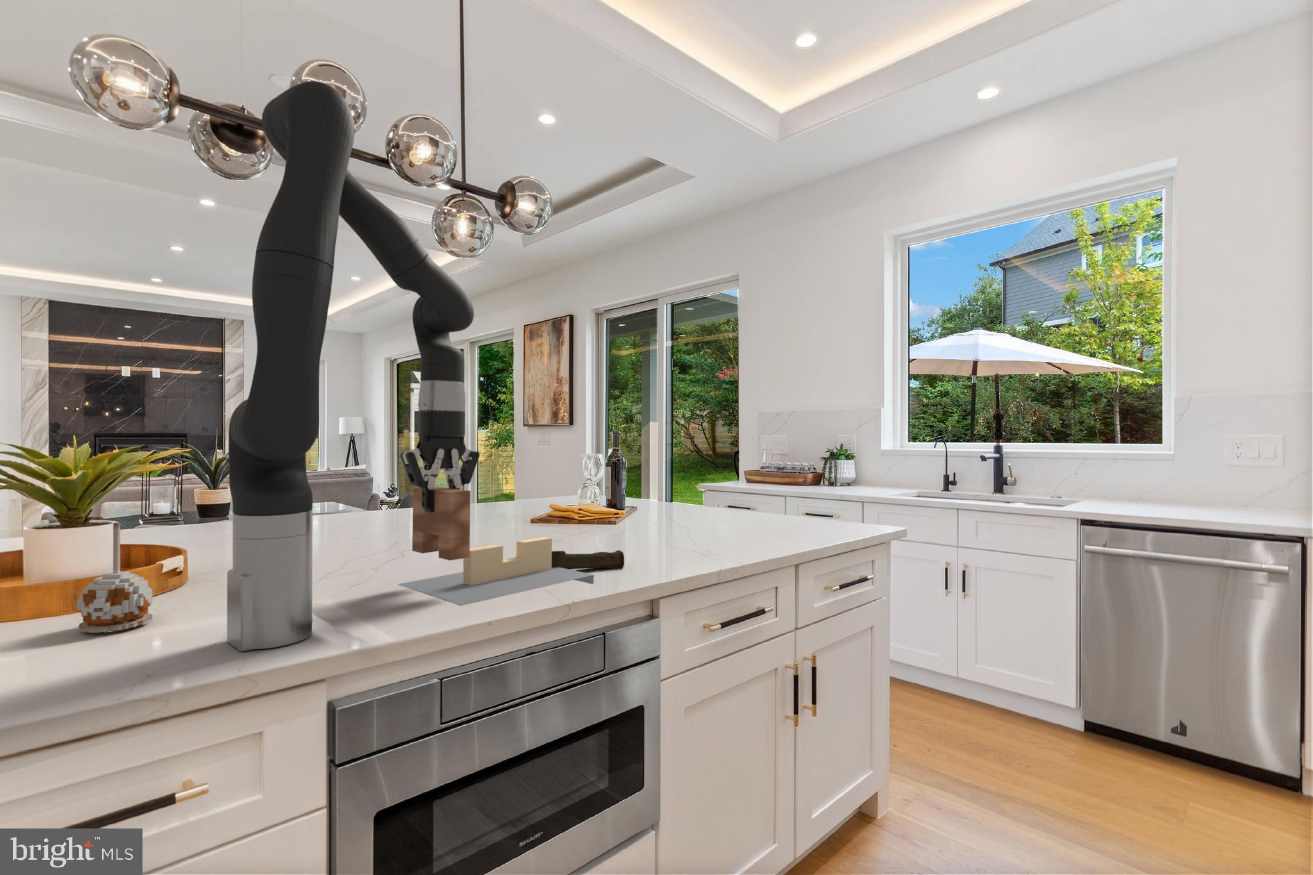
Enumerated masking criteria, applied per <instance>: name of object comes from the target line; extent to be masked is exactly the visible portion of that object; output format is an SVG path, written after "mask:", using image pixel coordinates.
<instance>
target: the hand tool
mask: <svg viewBox="0 0 1313 875" xmlns="http://www.w3.org/2000/svg"><path fill="white" fill-rule="evenodd" d="M624 566H625V554H624V552H623V551H621V550H620V549H619V550H615V551H613V552H609V551H598V552H593V553H566V551H565V550H552V567H561V568H565V569H570V570H579V569H580V570H581V569H583V570H584V569H612V568H613V569H614V568H618V569H624Z"/></svg>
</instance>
